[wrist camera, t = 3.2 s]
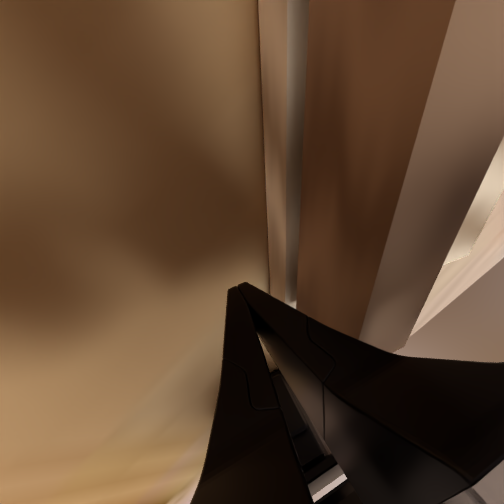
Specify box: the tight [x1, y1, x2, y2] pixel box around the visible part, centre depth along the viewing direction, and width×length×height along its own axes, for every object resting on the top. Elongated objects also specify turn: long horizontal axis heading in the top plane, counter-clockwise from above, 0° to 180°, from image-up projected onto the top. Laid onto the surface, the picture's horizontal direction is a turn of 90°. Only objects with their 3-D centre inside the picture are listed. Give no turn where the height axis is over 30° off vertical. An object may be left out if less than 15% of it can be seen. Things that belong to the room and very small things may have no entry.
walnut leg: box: [296, 0, 504, 353], centre depth 7 cm, size 16×4×4 cm, turn 5°
